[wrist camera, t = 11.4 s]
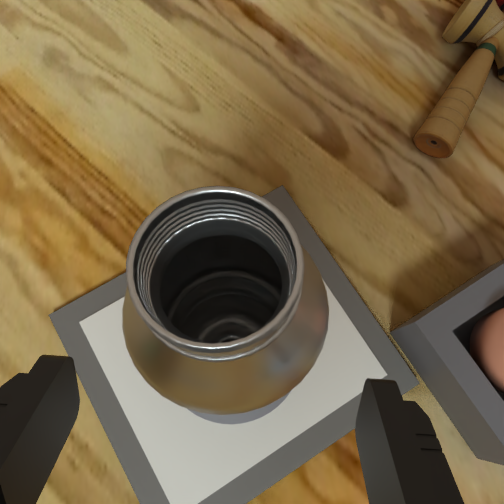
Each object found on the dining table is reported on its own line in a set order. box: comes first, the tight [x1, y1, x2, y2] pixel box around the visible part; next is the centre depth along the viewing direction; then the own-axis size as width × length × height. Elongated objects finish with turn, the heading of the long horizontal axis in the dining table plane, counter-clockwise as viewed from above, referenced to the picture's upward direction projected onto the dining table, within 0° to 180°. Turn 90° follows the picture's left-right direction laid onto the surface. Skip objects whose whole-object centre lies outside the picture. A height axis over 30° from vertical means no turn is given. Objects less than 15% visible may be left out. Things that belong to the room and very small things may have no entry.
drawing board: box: [49, 185, 419, 504], centre depth 29 cm, size 18×16×1 cm
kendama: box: [414, 0, 504, 158], centre depth 34 cm, size 8×6×18 cm
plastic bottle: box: [122, 186, 329, 415], centre depth 19 cm, size 6×7×20 cm
